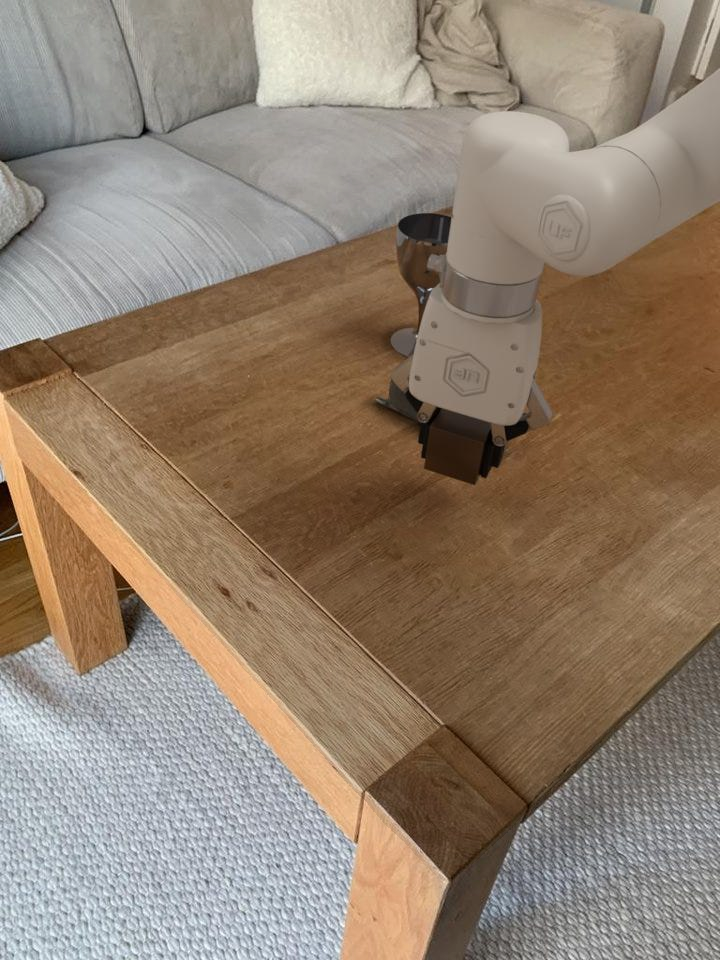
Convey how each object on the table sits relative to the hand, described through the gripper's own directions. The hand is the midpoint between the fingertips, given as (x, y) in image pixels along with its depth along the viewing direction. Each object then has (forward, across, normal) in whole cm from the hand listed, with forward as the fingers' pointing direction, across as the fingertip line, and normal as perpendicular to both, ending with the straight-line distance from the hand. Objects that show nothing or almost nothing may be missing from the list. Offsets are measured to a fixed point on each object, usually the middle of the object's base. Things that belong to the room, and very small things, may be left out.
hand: (458, 458), depth 76 cm
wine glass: (+6, -13, +26) cm, 29 cm away
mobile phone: (+6, -5, +11) cm, 13 cm away
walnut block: (0, 0, 0) cm, 0 cm away
